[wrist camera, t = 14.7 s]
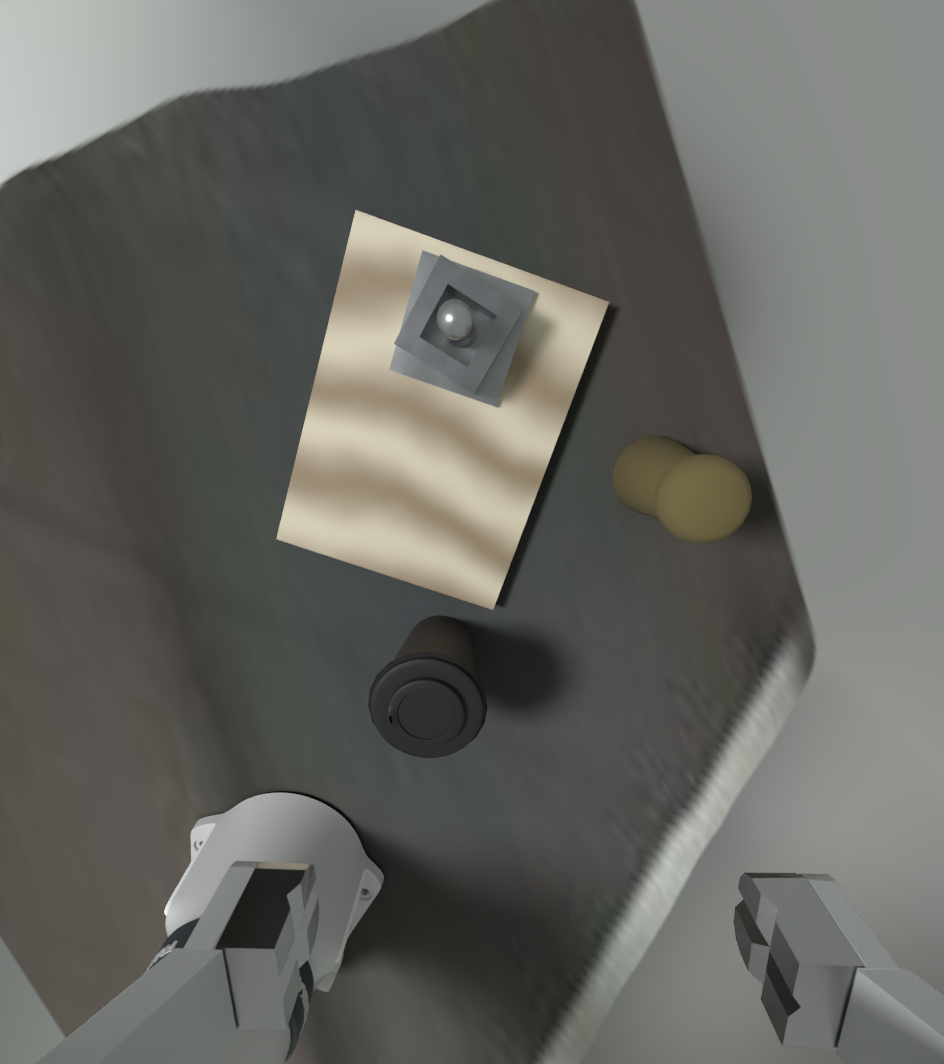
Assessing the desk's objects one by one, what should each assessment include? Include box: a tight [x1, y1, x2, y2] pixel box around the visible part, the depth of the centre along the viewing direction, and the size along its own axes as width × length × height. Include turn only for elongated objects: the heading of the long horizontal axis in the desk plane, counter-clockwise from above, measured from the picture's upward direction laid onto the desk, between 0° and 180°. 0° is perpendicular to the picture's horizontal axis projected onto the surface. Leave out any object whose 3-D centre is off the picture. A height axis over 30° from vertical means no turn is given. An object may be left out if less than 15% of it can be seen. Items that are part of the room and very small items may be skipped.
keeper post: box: [389, 250, 535, 407], centre depth 32 cm, size 8×8×6 cm
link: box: [394, 255, 523, 394], centre depth 33 cm, size 6×6×3 cm
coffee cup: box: [369, 616, 487, 758], centre depth 38 cm, size 8×8×10 cm
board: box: [277, 210, 609, 610], centre depth 37 cm, size 24×18×1 cm
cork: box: [613, 436, 752, 543], centre depth 33 cm, size 6×6×11 cm
